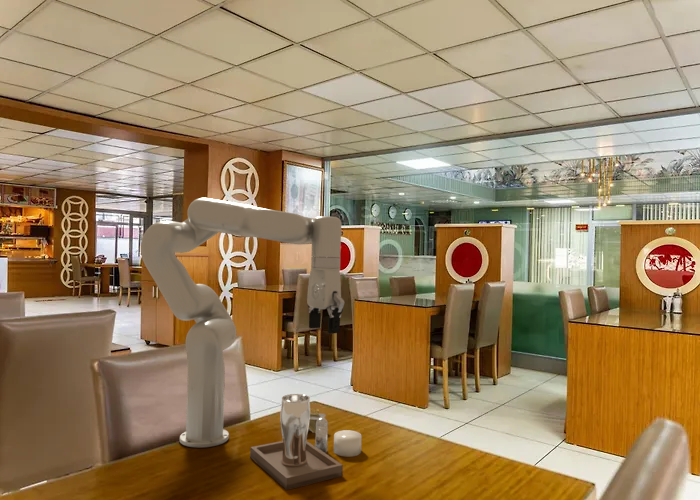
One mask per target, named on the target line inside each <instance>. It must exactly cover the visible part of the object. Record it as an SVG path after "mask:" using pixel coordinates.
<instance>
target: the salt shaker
mask: <svg viewBox="0 0 700 500" xmlns="http://www.w3.org/2000/svg"><path fill="white" fill-rule="evenodd" d="M328 425H329V423H328V420H327V419H326V418H325V417H324V418H319V419H318V420H317V421H316V431H315V441H314V442H315V443H314V446H315V447H317V448H318V449H320V450H321V451H323V452H324V453H326V454H327V453H328V431H329V430H328Z"/></svg>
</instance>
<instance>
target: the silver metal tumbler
mask: <svg viewBox="0 0 700 500" xmlns="http://www.w3.org/2000/svg"><path fill="white" fill-rule="evenodd" d="M310 402H311V399H310V396H309V395H306V394H301V393H291V394H286V395H283V396H282V397H281V405H280V414H279V415H280V417H279V418H280V428H281V429H280V430H281V437H282V441H283V453H282V458H281V463H282V464H283V465H286V466H291V467H296V466H301V465H304V464H305V463H306V462H307V457H306V450H305V448H306V441H307V438H308V434H309V431H308V429H309V423H310V413H311V403H310Z"/></svg>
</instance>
